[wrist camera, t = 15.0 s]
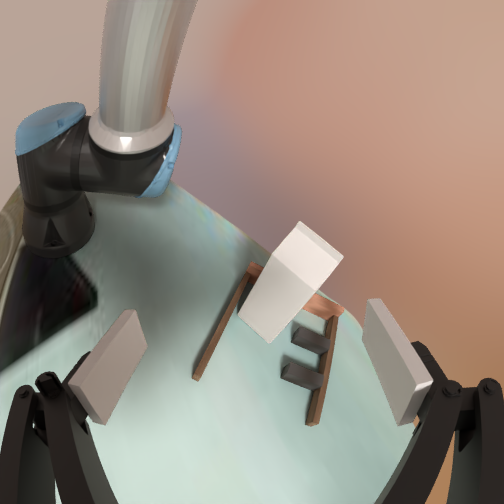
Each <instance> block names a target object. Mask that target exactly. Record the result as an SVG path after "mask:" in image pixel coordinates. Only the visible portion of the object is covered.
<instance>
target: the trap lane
mask: <svg viewBox="0 0 504 504" xmlns="http://www.w3.org/2000/svg"><path fill="white" fill-rule="evenodd" d="M263 269H264V267H262V266H260V265H258V264H256V263H254V262H252V261H251V263H250V265H249V267H248V269H247V270H246V272H245V274H244V276H243V278H242V280H241V282H240V284H239V286H238V288H237V290H236V292H235V294H234V296H233V298H232V300H231V302H230V304H229V306H228V308H227V310H226V312H225V314H224V316H223V318H222V320H221V322H220V324H219V326H218V328H217V330H216V332H215V334H214V336H213V337H212V339H211V341H210V343H209V345H208V347H207V349H206V351H205V353H204V355H203V357H202V359H201V361H200V363H199V365H198V367H197V369H196V371H195V373H194V375H193V377H192V379H194V380H196V381H199V379H200V378H201V376H202V374H203V372H204V370H205V368H206V366H207V364H208V362H209V360H210V358H211V356H212V354H213V352H214V350H215V347H216V345H217V343H218V341H219V339H220V337H221V335H222V333H223V331H224V329H225V327H226V325H227V323H228V321H229V319H230V317H231V315H232V313H233V311H234V308H235V306H236V304H237V302H238V300H239V298H240V296H241V294H242V292H243V290H244V288H245V286H246V284H247V282H249V283H251V284H253V285H255V283H256V281H257V279H258V278H259V276H260V274H261V272H262V271H263ZM302 309H304V310H306V311H308V312H310V313H313V314H315V315H317V316H319V317H321V318H323V319H325V320H327V321H328V323H327V329H326V335H325V337H323V336H321V335H318V334H316V333H314V332H312V331H310V330H307V329H305V328H303V327H301V326H300V327H299V328H298V329H297V330H296V332H295V333H294V334H293V338H292V341H291V343H293V344H296V345H298V346H300V347H302V348H305V349H307V350H309V351H312V352H314V353H316V354H319V355H321V361H320V365H319V370H318V373H317V372H314V371H312V370H310V369H307V368H305V367H302V366H300V365H297V364H295V363H293V362H290V363H289V364H288V365H286V366H285V367H284V369H283V372H282V375H281V379H284V380H286V381H289V382H291V383H294V384H296V385H299V386H301V387H304V388H307V389H309V390H312V391H314V392H313V397H312V401H311V405H310V409H309V413H308V417H307V421H306V424H305V425H308V426H314V425H317V424H319V421H320V416H321V412H322V408H323V403H324V398H325V394H326V389H327V384H328V379H329V374H330V368H331V363H332V357H333V351H334V345H335V338H336V332H337V325H338V317H339V316H340V315H341V314H342V313H343V312H344V307H342V306H340V305H338V304H336V303H334V302H332V301H330V300H328V299H326V298H324V297H322V296H320V295H318V294H316V293H315V294H314V295H313V296H312V297H311V298H310V299H309V301H308V302H307V303H306V304H305V305H304V306H303V308H302Z"/></svg>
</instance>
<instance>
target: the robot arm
mask: <svg viewBox="0 0 504 504" xmlns="http://www.w3.org/2000/svg"><path fill="white" fill-rule="evenodd" d="M197 1H198V0H108V2H107V8H106V14H105V22H104V29H103V38H102V49H101V62H100V84H99V85H100V86H99V107H98V108H97V109H96V110H95V112H94V113H93V115H92V116H86V115H85V114H86V109H85V106H84V105H83V104H79V103H77V102H67V103H61V104H56V105H52V106H49V107H46V108H43V109H42V110H39V111H37V112H35V113H33V114H31V115H30V116H28V117H27V118H25V119H24V120H23V121H22V122H21V123H20V125H19V126H18V128H17V131H16V150H15V154H16V156H17V164H18V171H19V178H20V184H21V189H22V195H23V199H24V213H23V225H22V231H23V236H24V239H25V243H26V245H27V247H28V248H29V250H30V251H31V252H33V253H34V254H36V255H38V256H40V257H44V258H60V257H64V256H67V255H70V254H72V253H74V252H76V251H77V250H79V249H80V248H82V247H83V246H84V245H85V244H86V243H87V242H88V240H89V239H90V237H91V236H92V233H93V230H94V214H93V210H92V208H91V206H90V203H89V201H88V199H87V197H86V194H85V192H84V191H86V192H97V193H107V194H116V195H124V196H133V197H136V198H141V197H151V198H155V197H158V196H160V195H161V194H163V192H164V191H165V190H166V188H167V186H168V183H169V181H170V178H171V175H172V172H173V168H174V164H175V161H176V159H177V156H178V151H179V148H180V143H181V136H182V129H181V127H180V126H179V125H176V124H175V123H174V116H173V113H172V112H171V110H170V109H169V107H168V106H167V102H168V97H169V93H170V89H171V85H172V81H173V77H174V73H175V69H176V66H177V62H178V59H179V55H180V52H181V48H182V45H183V42H184V38H185V35H186V32H187V29H188V26H189V23H190V20H191V17H192V14H193V12H194V9H195V6H196V4H197ZM362 341H363V343H364V345H365V348H366V350H367V352H368V354H369V357H370V359H371V361H372V364H373V366H374V368H375V371H376V373H377V375H378V378H379V380H380V383H381V385H382V388H383V390H384V392H385V395H386V397H387V400H388V402H389V405H390V408H391V410H392V413H393V415H394V418H395V421H396V423H397V426H401V425H404V424H408V423H411V422H413V421H414V419H415V417H416V415H418V417H419V419H420V421H419V423H418V425H417V426H416V428H415V430H414V432H413V433H412V434H413V436H412V438H411V440H410V442H409V444H408V446H407V448H406V450H405V452H404V454H403V456H402V458H401V460H400V462H399V464H398V466H397V467H396V469H395V471H394V473H393V474H392V476H391V478H390V480H389V481H388V483H387V484H386V486H385V488H384V489H383V491H382V492H381V494H380V496H379V497H378V499H377V500H376V502H375V503H374V504H425V502H426V500H427V498H428V496H429V494H430V492H431V490H432V487H433V486H434V483H435V481H436V479H437V477H438V474H439V472H440V469H441V467H442V464H443V462H444V459H445V457H446V454H447V451H448V448H449V445H450V442H451V439H452V436H453V433H454V431H455V441H454V455H453V465H452V473H451V480H450V487H449V493H448V499H447V503H446V504H504V399H503V394H502V388H501V386H500V384H499V383H498V382H497V381H496V380H494V379H491V378H485V379H483V380H481V381H480V383H479V384H478V386H477V387H470V388H462V386H461V385H460V384H459V383H458V382H456V381H453V380H448V379H447V377H446V376H445V374H444V373H443V371H442V369H441V368H440V367H439V365H438V363H437V362H436V361H435V359H434V357H433V356H432V355H431V353H430V351H429V350H428V348H427V347H426V346H425V345H423V344H422V343H420V342H419V341H417V342H412V343H410V342H409V340H408V339H407V337H406V335H405V334H404V332H403V331H402V329H401V328H400V326H399V325H398V324H397V322H396V320H395V319H394V317H393V316H392V315H391V313H390V312H389V310H388V309H387V307H386V306H385V305H384V303H383V302H382V300H381V299H380V298H377V299H368V300H367V308H366V315H365V322H364V329H363V335H362ZM147 347H148V346H147V343H146V340H145V337H144V334H143V331H142V328H141V325H140V322H139V319H138V315H137V312H136V310H129V309H125V310H124V311H123V313H122V314H121V315H120V316H119V317H118V319H117V320H116V321H115V322H114V324H113V325H112V326H111V327H110V329H109V330H108V331H107V332H106V334H105V335H104V336H103V337H102V339H101V340H100V341H99V342H98V344H97V345H96V346H95V348H94V349H93V350H92V351H89V352H87V353H86V354H85V355H83V356H82V357H81V358H80V360H79V361H78V362H77V364H76V365H75V366H74V367H73V369H72V370H71V371H70V373H69V374H68V375H67V377H66V378H65V379H64V381H63V382H62V383H61V382H60V380H59V379H58V377H57V375H56V374H55V373H54V372H50V371H49V372H45V373H43V374H41V375H40V376H38V377H37V379H36V381H35V385H36V386H37V388H38V389H39V391H40V392H35V391H34V389H33V388H32V386H30V385H23V386H21V387H19V388H18V389H17V390H16V392H15V395H14V398H13V401H12V405H11V408H10V412H9V416H8V419H7V423H6V428H5V432H4V436H3V441H2V446H1V452H0V504H56V499H55V480H56V484H57V488H58V492H59V495H60V499H61V502H62V504H118V502H117V500H116V498H115V496H114V493H113V491H112V489H111V487H110V484H109V482H108V480H107V477H106V475H105V472H104V470H103V467H102V464H101V462H100V459H99V456H98V453H97V451H96V448H95V445H94V441H93V438H92V435H91V432H90V428H89V425H88V423H87V421H86V420H85V419H86V417H87V416H88V415H89V417H90V418H91V420H92V421H93V422H95V423H98V424H102V425H106V423H107V421H108V419H109V418H110V416H111V414H112V412H113V410H114V408H115V406H116V404H117V402H118V400H119V398H120V396H121V395H122V393H123V391H124V389H125V387H126V385H127V383H128V381H129V380H130V378H131V376H132V374H133V372H134V370H135V369H136V367H137V365H138V363H139V361H140V360H141V358H142V356H143V354H144V352H145V351H146V349H147ZM33 423H34V424H35V426H34V428H33Z"/></svg>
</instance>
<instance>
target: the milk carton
mask: <svg viewBox="0 0 504 504" xmlns="http://www.w3.org/2000/svg"><path fill="white" fill-rule="evenodd" d="M342 258H343V255H342V254H340V253H339V252H338V251H337V250H336V249H334V248H333V247H332V246H331V245H329V244H328V243H327V242H326V241H325V240H324V239H322V238H321V237H320V236H318V235H317V234H316V233H315V232H313V231H312V230H311V229H310V228H308V227H307V226H306V225H305V224H303V223H302V222H301V221H299V222H298V224H297V225H296V227H295V228H294V229H293V230H292V232H291V233H290V234H289V235H288V236H287V237H286V238H285V239H284V241H283V242H282V243H281V244H280V245H279V246H278V247H277V248H276V250H275V251H274V252H273V253H272V255H271V256H270V258H269V260H268V262H267V264H266V265H265V267H264V269H263V271H262V272H261V274H260V276H259V278H258V279H257V281H256V283H255V285H254V286H253V288H252V290H251V292H250V293H249V295H248V297H247V299H246V300H245V302H244V304H243V306H242V307H241V309H240V311H239V312H238V316H239V317H240V318H241V319H242V320H243V321H244V322H245V323H246V324H248V325H249V326H250V327H251V328H252V329H253V330H254V331H255V332H256V333H257V334H259V335H260V336H261V337H262V338H263V339H264V340H265V341H266V342H268V343H269V344H270V343H271V342H272V341H273V340H274V339H275V338H276V337H277V336H278V334H279V333H280V332H281V331H282V330H283V329H284V328H285V327H286V326H287V325H288V324H289V322H290V321H291V320H292V319H293V318H294V317H295V316H296V315H297V313H298V312H299V311H300V310H301V309H302V308H303V306H304V305H305V304H306V303H307V302H308V301H309V299H310V298H311V297H312V296H313V295H314V294H315V292H316V291H317V290H318V289H319V287H320V286H321V285H322V284H323V283H324V281H325V280H326V279H327V278H328V276H329V275H330V274H331V273H332V272H333V270H334V269H335V268H336V266H337V265H338V264H339V262H340V261H341V260H342Z"/></svg>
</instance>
